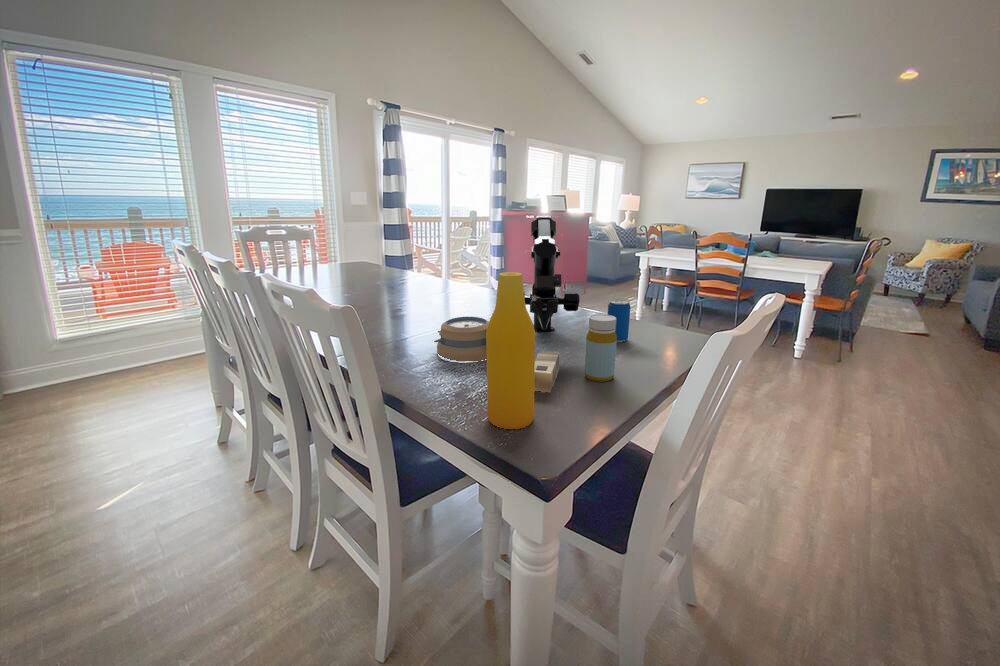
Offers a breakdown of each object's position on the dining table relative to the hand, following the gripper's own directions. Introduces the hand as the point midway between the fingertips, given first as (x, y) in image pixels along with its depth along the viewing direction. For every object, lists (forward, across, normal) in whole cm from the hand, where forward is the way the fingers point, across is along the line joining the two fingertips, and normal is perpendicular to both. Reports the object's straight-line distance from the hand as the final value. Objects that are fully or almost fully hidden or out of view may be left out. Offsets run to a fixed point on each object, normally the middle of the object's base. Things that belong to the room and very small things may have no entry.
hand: (544, 328), depth 119 cm
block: (+10, +1, -2) cm, 10 cm away
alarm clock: (+4, -19, +8) cm, 21 cm away
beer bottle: (+31, -7, -19) cm, 37 cm away
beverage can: (-6, +23, +18) cm, 30 cm away
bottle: (+15, +13, -3) cm, 20 cm away
